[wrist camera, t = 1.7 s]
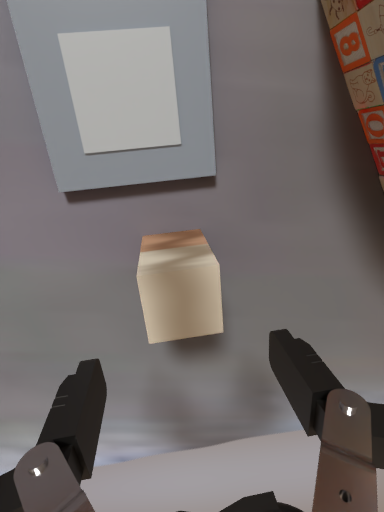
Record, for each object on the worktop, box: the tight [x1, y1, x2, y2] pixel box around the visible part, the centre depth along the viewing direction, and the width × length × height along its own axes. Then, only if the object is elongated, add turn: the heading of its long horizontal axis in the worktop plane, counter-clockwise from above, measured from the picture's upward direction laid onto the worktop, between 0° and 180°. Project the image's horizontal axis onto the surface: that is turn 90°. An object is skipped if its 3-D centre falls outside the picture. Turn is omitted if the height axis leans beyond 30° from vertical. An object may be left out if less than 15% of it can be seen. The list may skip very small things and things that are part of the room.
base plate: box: [7, 0, 216, 192], centre depth 19 cm, size 12×12×1 cm
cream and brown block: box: [137, 229, 223, 344], centre depth 21 cm, size 5×5×8 cm
